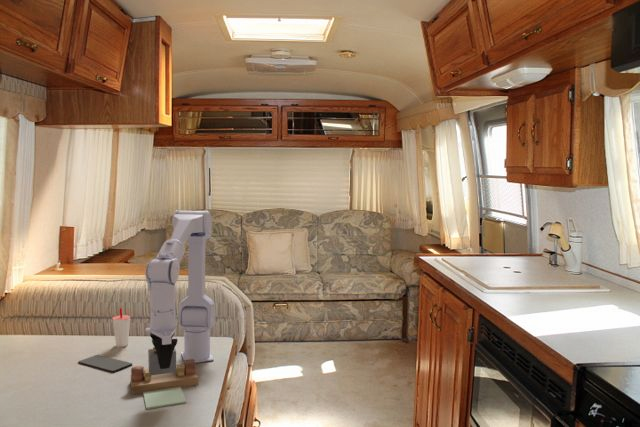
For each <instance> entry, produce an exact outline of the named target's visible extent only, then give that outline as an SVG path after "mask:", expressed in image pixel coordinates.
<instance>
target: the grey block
mask: <svg viewBox="0 0 640 427" xmlns="http://www.w3.org/2000/svg"><path fill="white" fill-rule="evenodd" d="M147 350H148V352H147V353H148V354H147V355H148V360H147V361H148V368H149V373H150V376H151V375H158V374H166V373H173V372H176V368H177V350H176V347H175V348H174V351H173V354H172V359H171V364H170V368H166V369H160V366H159V361H158V355H157V351H156V349H155V347H154V346H153V347H152V348H149V349H147Z"/></svg>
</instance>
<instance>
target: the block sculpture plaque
mask: <svg viewBox="0 0 640 427" xmlns="http://www.w3.org/2000/svg"><path fill="white" fill-rule="evenodd" d="M183 362H184V365H183V363H179V364H178V363H176V372H173V373H166V374H158V375H151V376H150V373H149V367H148V368H144V367H145V366H143V365H135V366H133V367H132V366H131V368H130V371H131V372H130V386H131V393H132V394H131V395H138V394H143V392H148V391H154V390H161V389H168V388H174V387H181V388H184V387H185V388H186V387H191V386H198V385H199V376H198V372H197V371H196V363H195V361H194V359H190V360H184V359H183Z"/></svg>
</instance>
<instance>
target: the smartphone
mask: <svg viewBox="0 0 640 427" xmlns="http://www.w3.org/2000/svg"><path fill="white" fill-rule="evenodd" d="M77 363H78V364H80V365H82V366H83V365H84V366H86V367H90V368H92V369H93V368H94V369H95V370H96V369H97V370H100V371H104V372H106V373H109V374H110V373H111V374H115V373H118V372H121V371H123V370H125V369H127V368H129V367H132V366H133V363H132V362H128V361H125V360H121V359H116V358H113V357H109V356H104V355H102V354H96V355H93V356H92V355H91V356H90V357H87V358H84V359H81V360H79V361H78V362H77Z"/></svg>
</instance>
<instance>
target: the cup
mask: <svg viewBox="0 0 640 427" xmlns="http://www.w3.org/2000/svg"><path fill="white" fill-rule="evenodd" d="M111 320H112V323H113V324H112V325H113V331H114V339H115V346H116V347H117V348H124V347H127V346H128V345H129V338H130V336H129V335H130V325H131V324H130V323H131V316H130V315H127V314H123V307H120V308H119V315H115V316H113V317H112V319H111Z"/></svg>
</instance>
